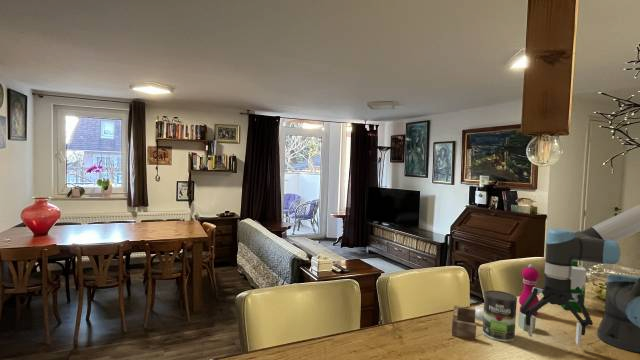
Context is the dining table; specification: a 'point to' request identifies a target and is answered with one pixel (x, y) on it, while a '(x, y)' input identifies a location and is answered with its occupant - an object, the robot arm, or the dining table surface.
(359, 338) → the dining table surface
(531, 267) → the pepper mill
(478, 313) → the white glossy round part
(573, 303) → the milk carton
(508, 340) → the coffee can
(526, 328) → the sage block
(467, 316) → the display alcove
